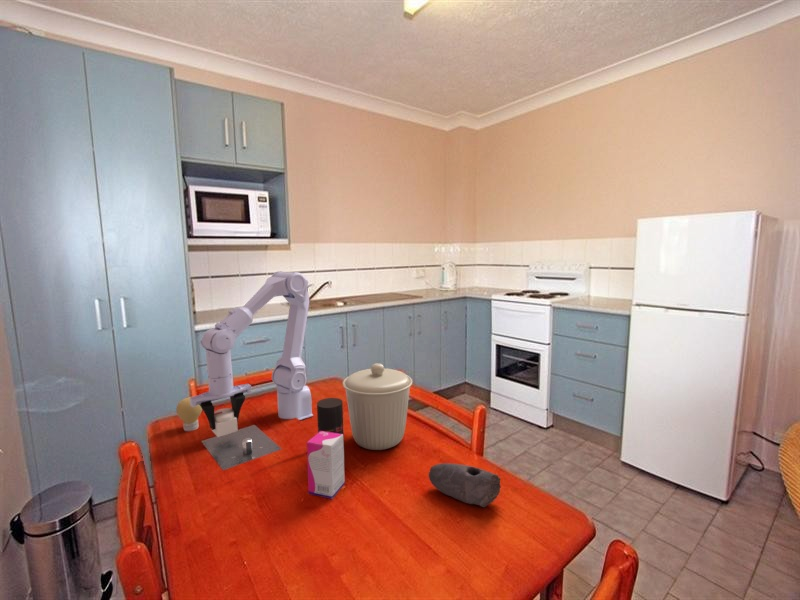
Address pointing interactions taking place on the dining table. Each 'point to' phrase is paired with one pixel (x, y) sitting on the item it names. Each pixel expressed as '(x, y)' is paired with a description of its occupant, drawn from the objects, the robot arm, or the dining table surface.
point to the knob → (225, 422)
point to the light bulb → (188, 414)
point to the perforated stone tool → (465, 483)
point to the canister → (377, 406)
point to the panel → (240, 446)
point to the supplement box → (325, 464)
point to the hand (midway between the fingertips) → (224, 424)
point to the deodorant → (330, 415)
